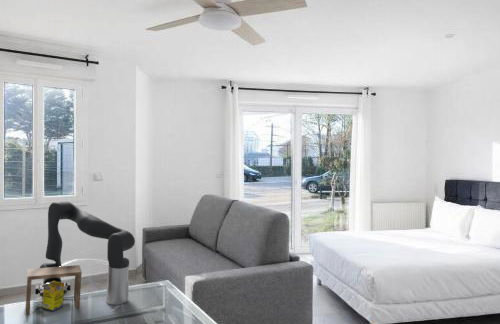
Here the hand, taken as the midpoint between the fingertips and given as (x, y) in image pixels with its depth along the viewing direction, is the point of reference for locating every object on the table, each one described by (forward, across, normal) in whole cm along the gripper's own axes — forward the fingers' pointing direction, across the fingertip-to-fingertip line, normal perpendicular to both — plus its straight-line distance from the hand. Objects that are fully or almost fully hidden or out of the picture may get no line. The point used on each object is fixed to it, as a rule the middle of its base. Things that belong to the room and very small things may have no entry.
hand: (53, 293), depth 168 cm
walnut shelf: (-2, 0, +7) cm, 7 cm away
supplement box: (0, 0, +7) cm, 7 cm away
